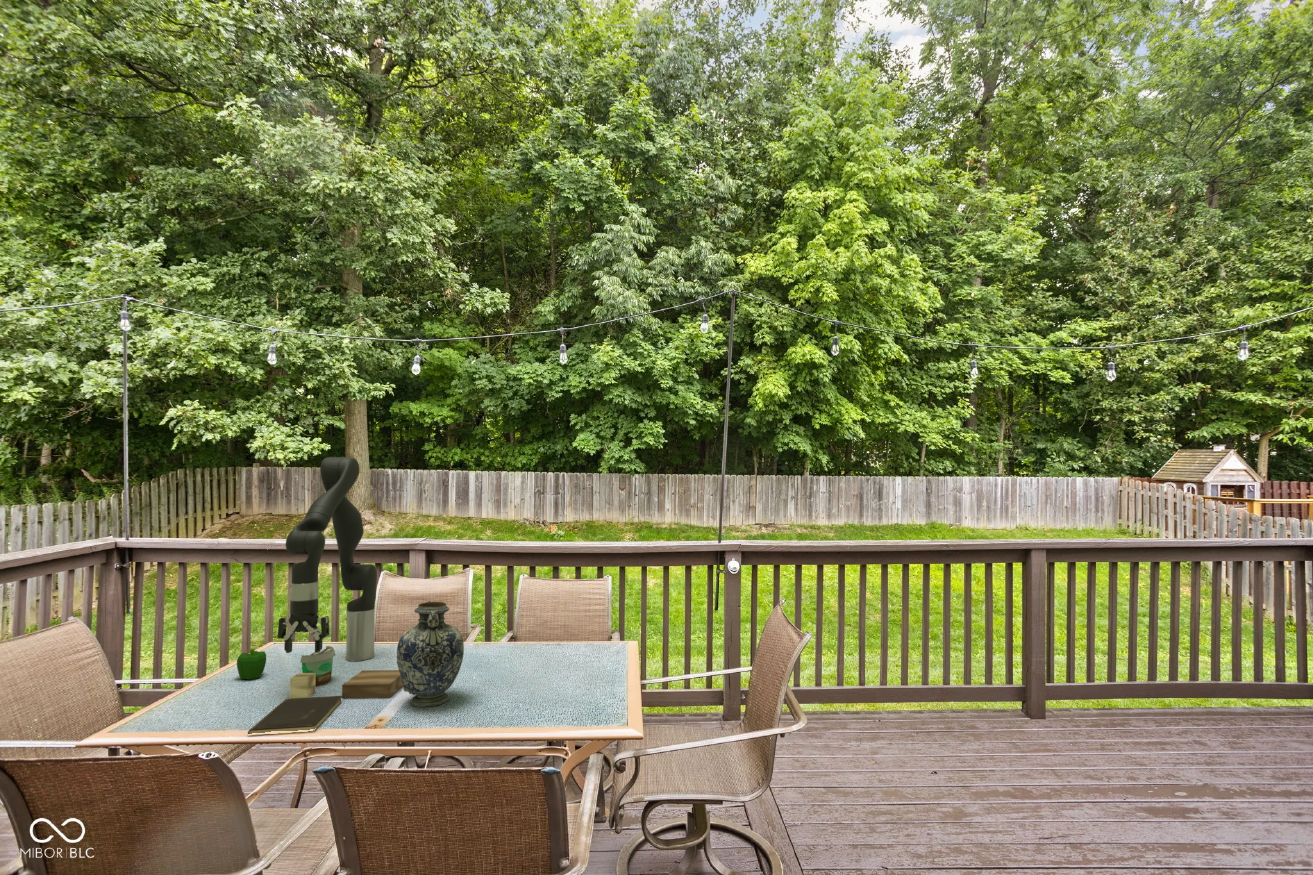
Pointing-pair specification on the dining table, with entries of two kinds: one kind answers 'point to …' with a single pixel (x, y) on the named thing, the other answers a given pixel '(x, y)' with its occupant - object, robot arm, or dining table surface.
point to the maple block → (302, 685)
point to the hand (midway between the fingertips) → (303, 652)
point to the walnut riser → (372, 684)
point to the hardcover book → (297, 714)
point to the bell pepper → (251, 664)
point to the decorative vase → (430, 656)
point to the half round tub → (319, 665)
